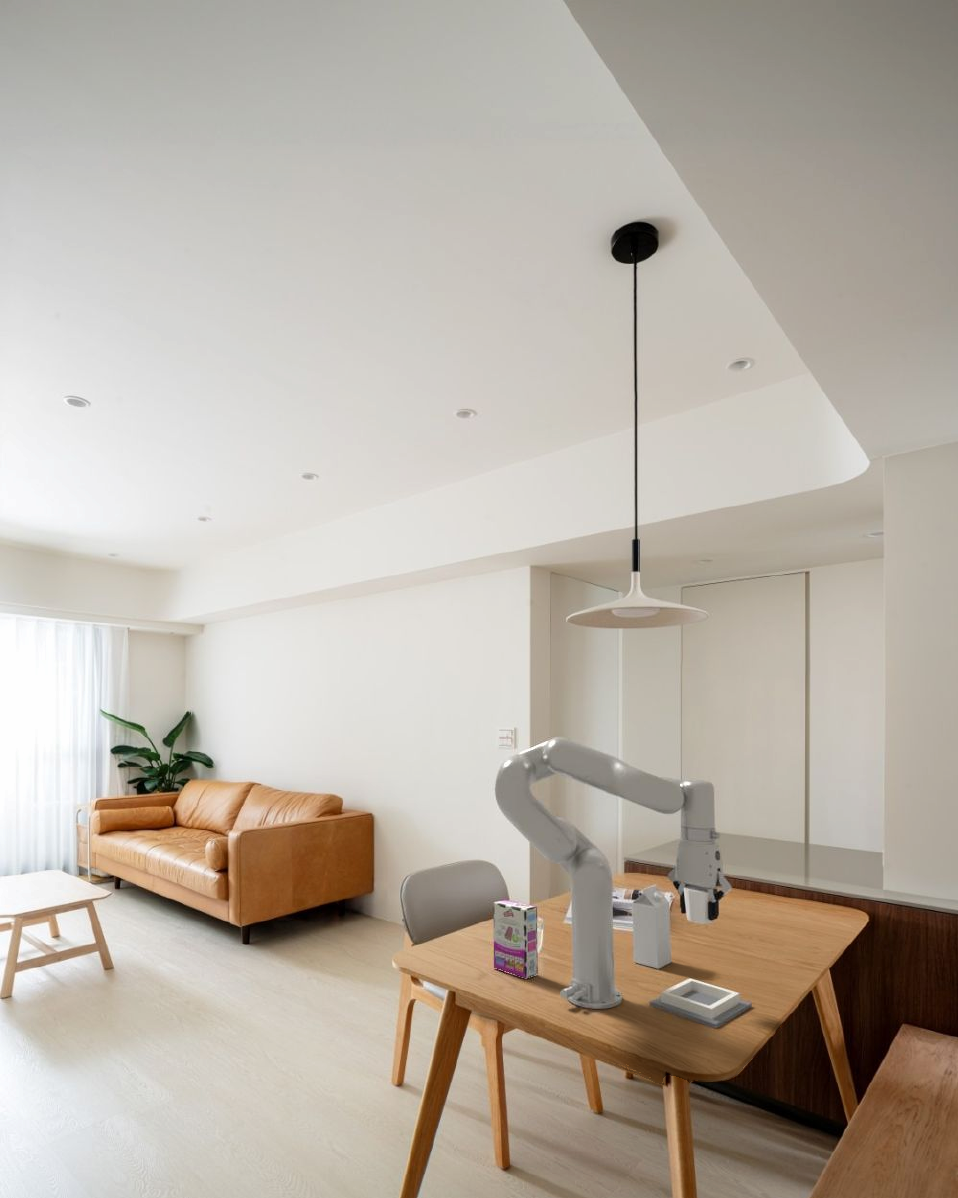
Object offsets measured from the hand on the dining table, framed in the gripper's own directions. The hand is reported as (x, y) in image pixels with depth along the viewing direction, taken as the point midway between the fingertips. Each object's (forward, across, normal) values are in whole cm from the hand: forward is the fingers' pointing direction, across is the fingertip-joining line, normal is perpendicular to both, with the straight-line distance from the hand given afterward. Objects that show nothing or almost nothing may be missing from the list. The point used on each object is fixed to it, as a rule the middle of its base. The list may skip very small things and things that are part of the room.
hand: (699, 915), depth 164 cm
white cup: (+1, 0, 0) cm, 1 cm away
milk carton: (+19, +22, -15) cm, 33 cm away
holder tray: (+19, -1, +1) cm, 19 cm away
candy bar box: (+21, +43, +15) cm, 50 cm away
